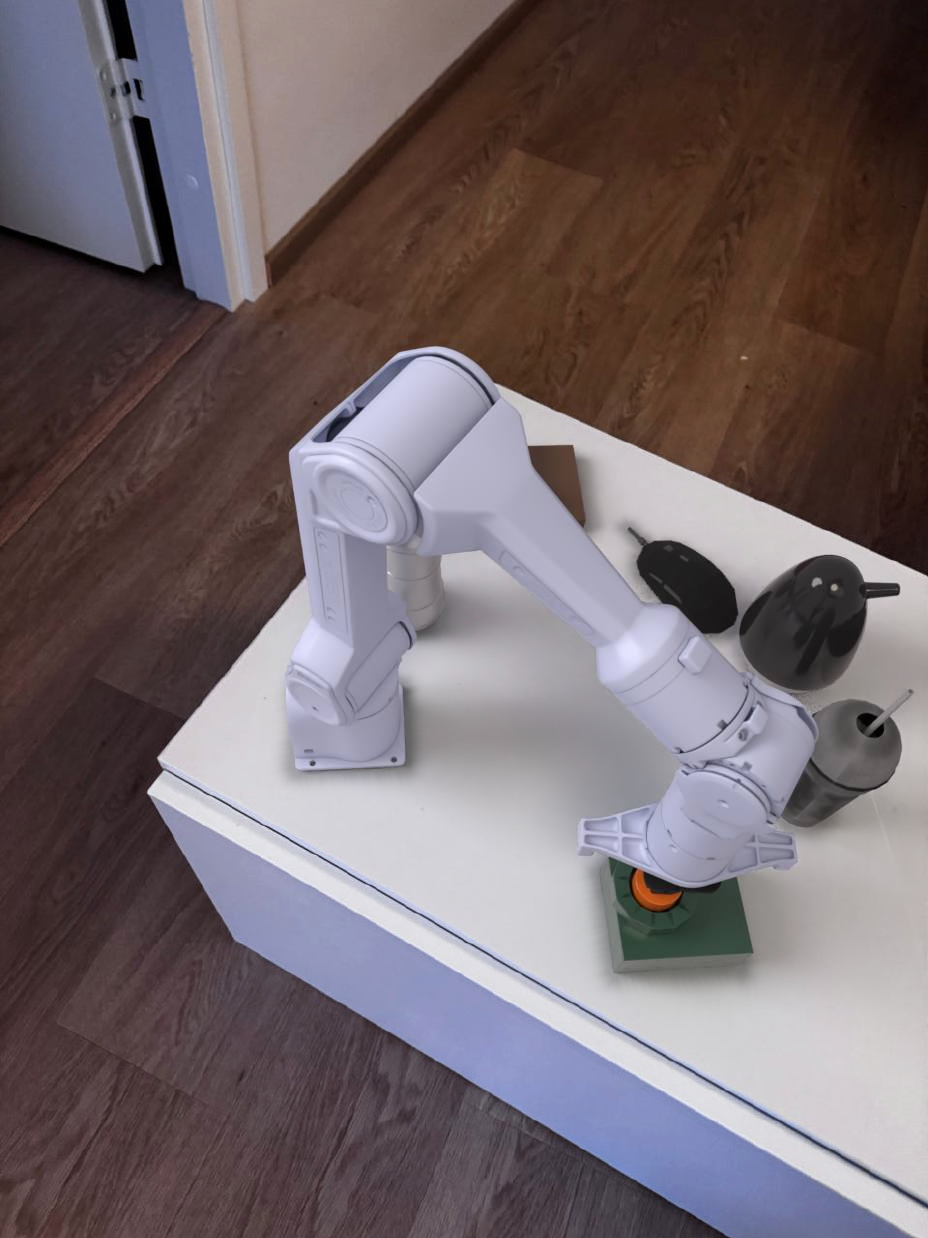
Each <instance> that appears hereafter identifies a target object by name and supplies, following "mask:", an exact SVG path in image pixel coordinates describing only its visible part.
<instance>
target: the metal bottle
mask: <svg viewBox="0 0 928 1238" xmlns="http://www.w3.org/2000/svg"><path fill="white" fill-rule="evenodd" d="M420 541H421V538H420V537H418V536H417V535H415V534H413V535H412V537H411V538H410V539H409V540H408V541H407V542H406V543H404V544H401V545H397V546H387V545H386V546H387V589H389V590H390V591H392V592H393V593H395V594H396V595H397V596H399V597H400V598H401V599H402V600H403V601H405V602H406V604H407V614H408V616H409V618H410V619H411V621H412V623H413V626H414V629H415V632H419V631H422V630H425V629H427V628H429V627H430V626H432V625H433V624H434V623H436V622H437V620H438V619H439V618H440V616H441V614H442V613H443V609H444V606H445V603H446V598H447V597H446V595H447V594H446V588H445V584H444V580H443V575H442V564H441V563H442V556H443V555H438V556H429V557H422V556H420V555H418V554H416V550H417V548H418V546H419V543H420Z"/></svg>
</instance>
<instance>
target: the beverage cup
mask: <svg viewBox="0 0 928 1238" xmlns="http://www.w3.org/2000/svg"><path fill="white" fill-rule="evenodd" d="M914 694H915V690H914V689H913V688H911V687H910V688H907V690H906V691H905V692H903V693H902V694H901V695H900V696H899V697H897V699H896V700H895V701H894V702H893V703H892V704H891V705H890V706H889V707H887V708H886V709H885V710H884V709H883V708H881V707H880V706H878V705H877V704H874V703H872V702H869V701H866V700H861V699H855V698H854V699H853V698H849V699H842V700H837V701H834V702H832V703H830V704H828V705H826V706H824V707H823V708H821V709H820V710H817V711H815V712H814V713H812V715H811V716H812V717H813V719H814V720H815V722H816V724H817V727H818V732H819V735H818V739H817V741H816V743H815V748H814V751H813V753H812V755H811V757H810V759H809V761H808V762H807V764H806V766H805V768H804V770H803V772H802V774H801V776H800V778H799V780H798V782H797V784H796V786H795V788H794V790H793V792H792V794H791V796H790V798H789V800H788V802H787V804H786V806H785V808H784V810H783V812H782V814H781V816H780V818H781V819H783V820H785V821H786V822H787V823H788V824H790V825H792V826H795V827H798V828H809V827H810V828H811V827H814V826H816V825H817V824H819V823H821V822H823V821H825V820H826V819H828V818H829V817H831V816H832V815H834V814H835V813H837V812H838V811H840V810H841V809H843V808H844V807H845V806H847V805H848V804H850V803H851V802H853V801H855V800H856V799H857V798H858V797H860V796H863V795H865V794H867V793H871V792H872V791H876V790H878V789H880V788H881V787H883V786H884V785H887V784H888V783H889V781H890V780H891V779H892V778H893V776H894V775H895V773H896V769H897V768H898V766H899V763H900V761H901V756H902V751H903V742H902V736H901V732H900V730H899V727H898V726H897V724H896V721H895V720H894V719H893V718H892V717H891V716H892V715H893V714H894V713H895V712H896V711H897V710H899V708H900V707H902V705H903V704H905V703H906V702H907V701H908V700H909V699H910V698H911V697H912V696H913V695H914Z"/></svg>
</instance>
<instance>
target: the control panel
mask: <svg viewBox="0 0 928 1238" xmlns="http://www.w3.org/2000/svg"><path fill="white" fill-rule="evenodd" d="M528 450H529V455H530V460H531V463H532V466H533V467H534V469H535V470H536V471H537V473H538V474H539V475H540V476H541V478H542V479H543V480H544V481H545V482H546V484H547V485H548V486H549V487H550V489H551V490H552V491H553V492H554V494H555V495H556V496H557V497H558V498H559V500H560V501H561V502H562V503H563V505H564V506H565V507H566V508H567V510H568V511H569V512H570V513H571V514H572V516H573V517H574V518H575V519H576V521H577V522H578V523H579V524H580V526H581V527H582V528H583V529H584V528H585V524H586V520H587V518H586V512H585V506H584V502H583V501H584V499H583V494H582V489H581V482H580V476H579V470H578V465H577V464H578V463H577V459H576V454H575V447H574V444H548V445H545V444H544V445H543V444H542V445H528ZM584 530H585V529H584Z"/></svg>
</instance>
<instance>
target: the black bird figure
mask: <svg viewBox="0 0 928 1238" xmlns="http://www.w3.org/2000/svg"><path fill="white" fill-rule="evenodd" d="M858 567H859V566H857V565H856V564H855V563H854V562H853V561H852V560H850V559H848V558H846V557H845V556H841V555H838V554H821V555H820V554H819V555H816V556H811V557H809V558H807V559H804V560H802V561H800V562H798V563H796V564H794V565H793V566H791V567H790V568H787V569H786V570H785V571H783V572H782V573H781V574H779V575H778V576H776V577H775V578H774V579H773V580H771V581H770V582H769V583H768V584H767V585H766V586H765V587H763V589H762V590H761V591H760V592H759V593H758V594H757V595H756V596H755V598H754V599H753V600H752V601H751V602H750V603H749V605H748V607H747V608H746V610H745V612H744V614H743V615H742V618H741V620H740V624H739V629H738V639H739V644H740V649H741V655H742V657H743V661H744V662H745V664H746V666H747V668H748V670H750V671H749V672H750V673H751V674H752V675H756V676H757V677H758V678H759V679H760V680H761V681H763V682H764V683H766V684H767V685H769V686H772V687H774V688H777V689H779V690H781V691H783V692H785V693H787V694H805V693H806V694H807V693H811V692H814V691H818V690H822V689H825V688H827V687H830V686H832V685H834V684H835V683H837V681H838V680H840V679H841V678H842V677H843V676H844V674H845V673H846V672H847V670H848V669H849V667H850V666H851V664H852V663H853V661H854V660H855V659H854V658H855V657H856V654H857V653H858V650H859V648H860V645H861V643H862V640H863V637H864V633H865V631H866V625H867V619H868V612H869V611H868V610H869V601H868V600H871V599H880V598H889V597H897V596H899V595H900V594H901V584H899V583H898V582H880V581H879V582H878V581H876V582H875V581H865V578H864V576H863V574H862V572H861V570H860V569H859V568H858Z"/></svg>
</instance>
